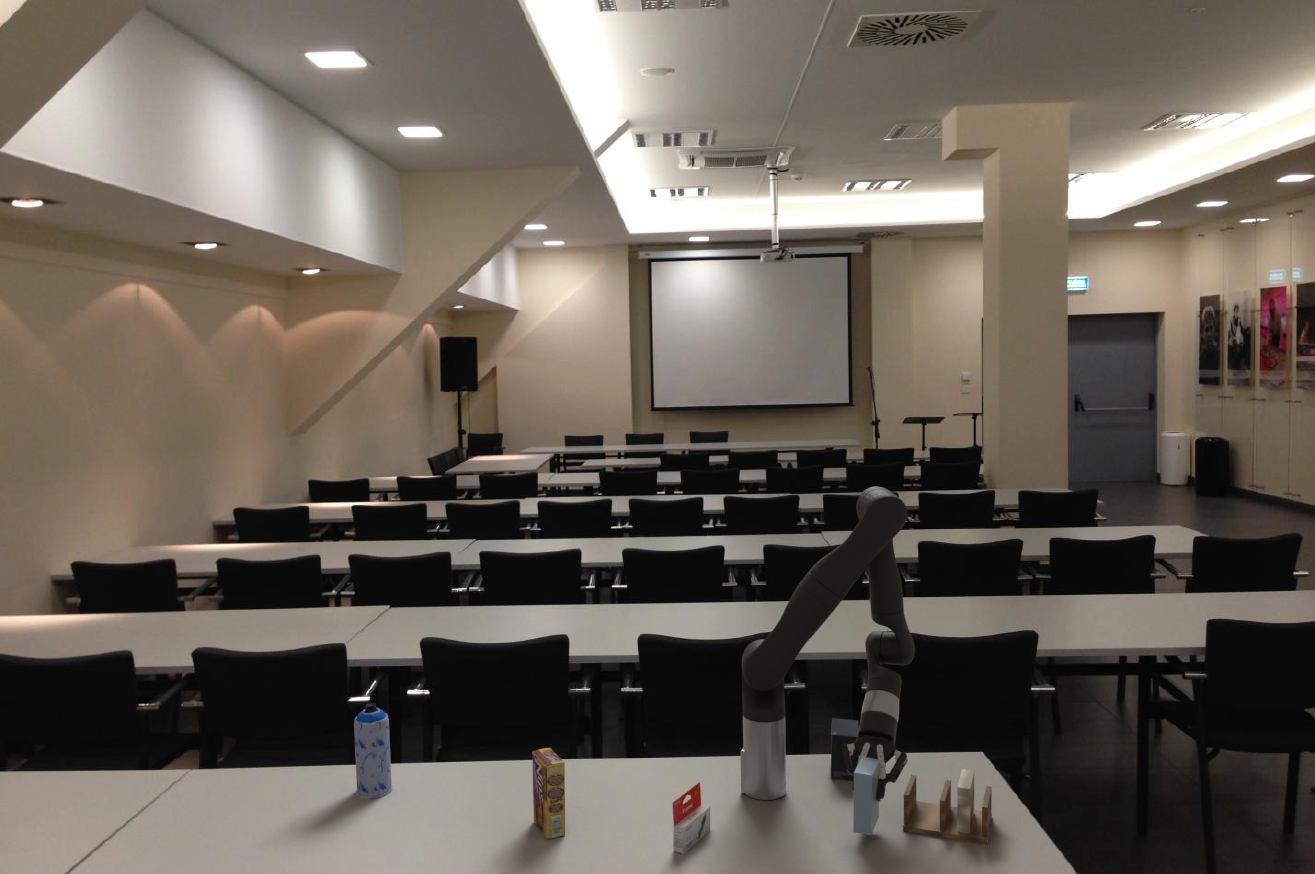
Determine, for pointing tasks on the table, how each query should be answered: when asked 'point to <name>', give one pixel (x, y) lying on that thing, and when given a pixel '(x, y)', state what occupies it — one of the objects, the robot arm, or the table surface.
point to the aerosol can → (372, 753)
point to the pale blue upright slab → (866, 796)
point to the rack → (949, 812)
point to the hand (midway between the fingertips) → (867, 797)
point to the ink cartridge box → (689, 820)
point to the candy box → (549, 792)
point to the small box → (841, 734)
